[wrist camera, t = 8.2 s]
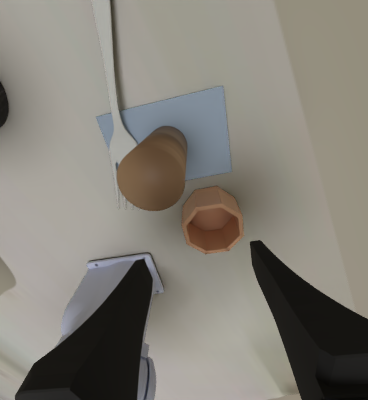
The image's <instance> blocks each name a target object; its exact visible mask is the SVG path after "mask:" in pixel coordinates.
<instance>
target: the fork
mask: <svg viewBox="0 0 368 400" xmlns="http://www.w3.org/2000/svg"><path fill="white" fill-rule="evenodd" d="M91 2H92V7H93V12H94V17H95V22H96V27H97V31H98V36H99V41H100V46H101V52H102V57H103V62H104V68H105V74H106V81H107V87H108V94H109V100H110V107H111V112H112V118H113V124H114V132H113V135H112V138H111V141H110V146H109V154H110V160H111V165H112V171H113V177H114V185H115V192H116V200H117V208H118V209H119V187H118V183H117V169H116V162H118V164H120V162H121V161H122V159H123V158H124V157H125V156H126V155H127V154H128V153H129V152H130V151H131V150H133V149H134V148H135V147H136V146H137V145H138V144H137V142H136V141H135V140H134V139H133V137H132V136H131V135H130V134H129V133H128V132H127V130H126V129H125V127H124V125H123V123H122V120H121V117H120V113H119V108H118V102H117V94H116V84H115V73H114V58H113V41H112V20H111V5H110V0H91ZM123 201H124V209H126V198H125V197H124V196H123ZM131 210H133V204H132V203H131ZM138 210H140V208H138Z"/></svg>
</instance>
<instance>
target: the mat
mask: <svg viewBox="0 0 368 400" xmlns="http://www.w3.org/2000/svg"><path fill="white" fill-rule="evenodd" d="M119 113H120V117H121V120H122V123H123V125H124V127H125V129H126V130H127V132H128V133H129V134H130V135H131V136H132V137H133V139H134V140H135V141H136V142H137V144H139V143H141V142H142V141H143V140H144V139H145V138H146V137H147V136H148V135H150V134H151V133H152V132H153V131H154V130H155V129H157V128H159V127H161V126H172V127H175V128H177V129H178V130H180V131H181V132H182V133H183V135H184V136H185V138H186V141H187V161H186V174H185V181H186V180H191V179H196V178H202V177H207V176H212V175H218V174H223V173H228V172H232V168H231V159H230V149H229V139H228V129H227V119H226V110H225V100H224V90H223V86H220V87H216V88H212V89H208V90H203V91H199V92H195V93H191V94H187V95H183V96H179V97H175V98H171V99H167V100H163V101H159V102H154V103H150V104H146V105H142V106H138V107H134V108H130V109H126V110H122V111H119ZM96 119H97V121H98V124H99V126H100V129H101V132H102V134H103V137H104V139H105V142H106V144H107V147H108V149H109V146H110V141H111V138H112V135H113V132H114V124H113V118H112V113H110V114H105V115H101V116H97V117H96ZM118 166H119V164H118V162H116V169H117V170H118Z"/></svg>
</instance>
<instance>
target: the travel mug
mask: <svg viewBox="0 0 368 400" xmlns="http://www.w3.org/2000/svg"><path fill="white" fill-rule="evenodd" d="M7 114H8V102H7V97H6V94H5V91H4V89H3V87H2V85H1V83H0V127H1V126H2V125H3V124H4V122H5V120H6V118H7Z"/></svg>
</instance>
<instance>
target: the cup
mask: <svg viewBox="0 0 368 400" xmlns="http://www.w3.org/2000/svg"><path fill="white" fill-rule="evenodd" d="M182 228H183V232H184V236H185V239H186V244H187V245H189V246H191V247H193V248H195V249H197V250H199V251H201V252H203V253H205V254H210V253H217V252H224V251H229V250H230V249H231V248H232V247H233V246H234V245H235V244H236V243H237V242H238V241H239V240H240V239H241V238H242V237H243V236H244V230H243V219H242V213H241V211H240V209H239V207H238V204H237V202H236V200H235V198H234V197H233V196H232V195H230V194H228V193H227V192H225V191H224V190H222V189H221V188H219V187H217V186H214V187H209V188H203V189H198V190H194V192H193V193H192V194H191V196H190V197H189V198H188V200H187V201H186V202H185V204H184V205H183V211H182Z"/></svg>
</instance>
